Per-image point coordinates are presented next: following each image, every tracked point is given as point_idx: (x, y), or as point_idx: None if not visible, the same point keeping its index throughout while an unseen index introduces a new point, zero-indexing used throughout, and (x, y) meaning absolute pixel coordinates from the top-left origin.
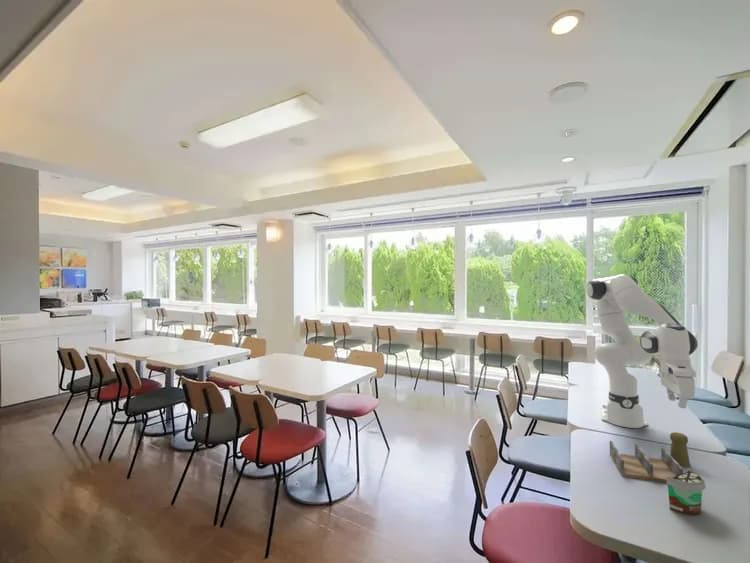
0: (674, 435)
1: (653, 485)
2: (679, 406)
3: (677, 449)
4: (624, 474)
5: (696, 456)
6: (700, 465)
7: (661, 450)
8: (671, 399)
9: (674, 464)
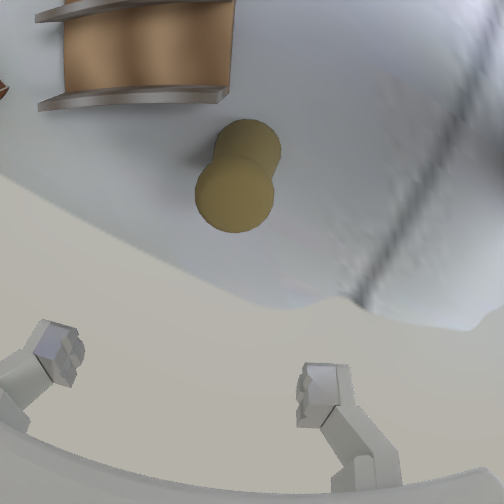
0: (212, 176)
1: None
2: (46, 324)
3: (216, 157)
4: None
5: (322, 235)
6: None
7: (218, 91)
8: (303, 376)
9: (83, 95)
